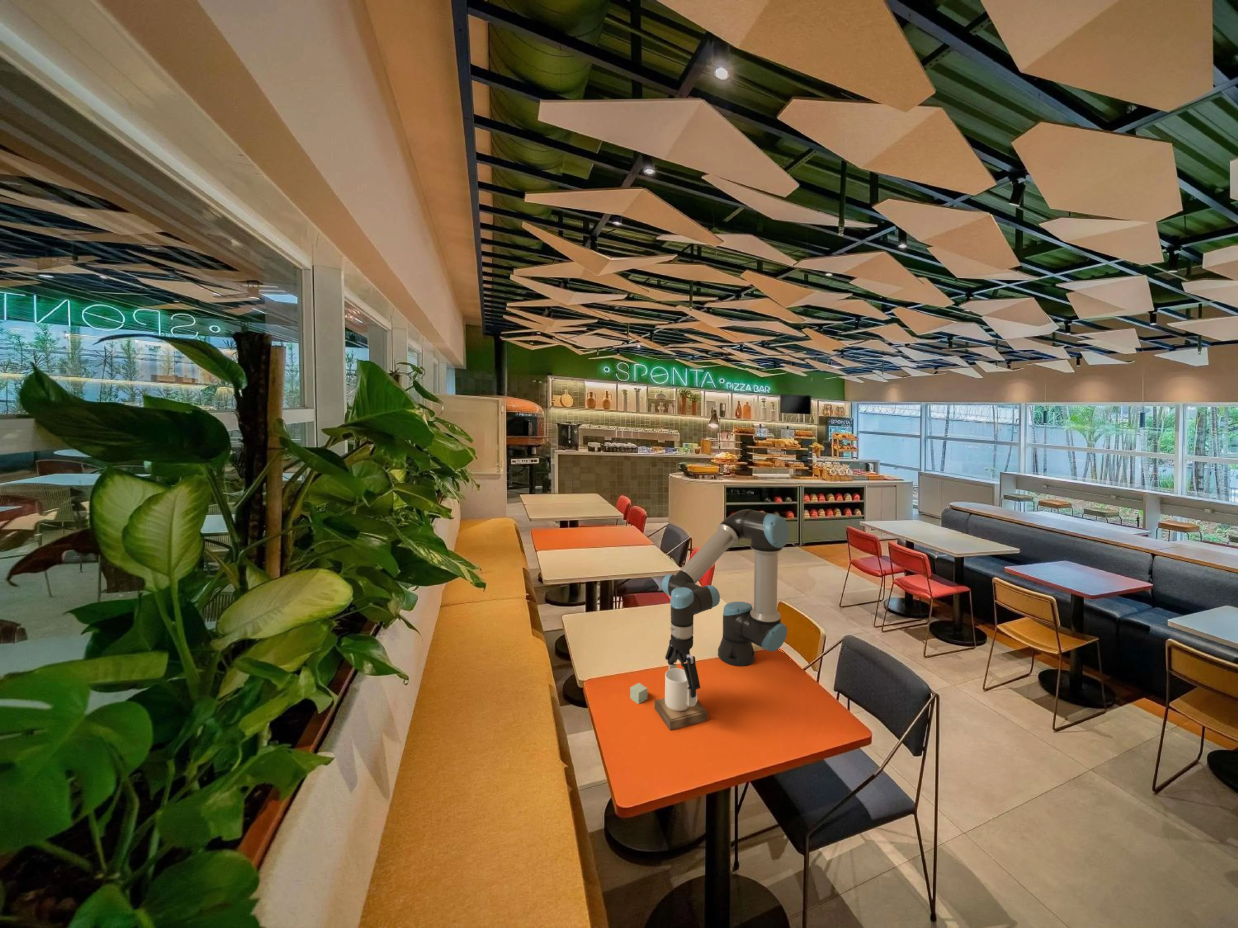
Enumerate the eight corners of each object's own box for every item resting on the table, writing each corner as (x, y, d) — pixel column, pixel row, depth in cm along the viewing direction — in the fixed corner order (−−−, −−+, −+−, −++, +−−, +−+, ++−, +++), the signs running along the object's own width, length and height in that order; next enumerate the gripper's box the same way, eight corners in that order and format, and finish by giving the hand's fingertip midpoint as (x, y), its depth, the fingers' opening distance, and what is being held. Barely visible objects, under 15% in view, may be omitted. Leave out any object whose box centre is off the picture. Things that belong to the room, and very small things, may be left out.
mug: (689, 719, 152) (690, 689, 151) (659, 704, 160) (660, 675, 159) (703, 707, 159) (704, 677, 158) (673, 693, 167) (674, 665, 165)
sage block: (638, 693, 172) (639, 682, 171) (647, 699, 169) (647, 687, 168) (630, 698, 169) (630, 687, 169) (638, 704, 166) (638, 692, 165)
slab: (689, 699, 168) (689, 691, 168) (707, 720, 157) (707, 711, 157) (654, 708, 163) (654, 699, 163) (670, 730, 152) (670, 721, 152)
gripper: (655, 620, 167) (656, 675, 170) (690, 655, 144) (690, 718, 147) (674, 616, 170) (674, 670, 172) (711, 650, 147) (710, 712, 149)
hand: (681, 692), depth 160 cm, fingers open, 13 cm apart
